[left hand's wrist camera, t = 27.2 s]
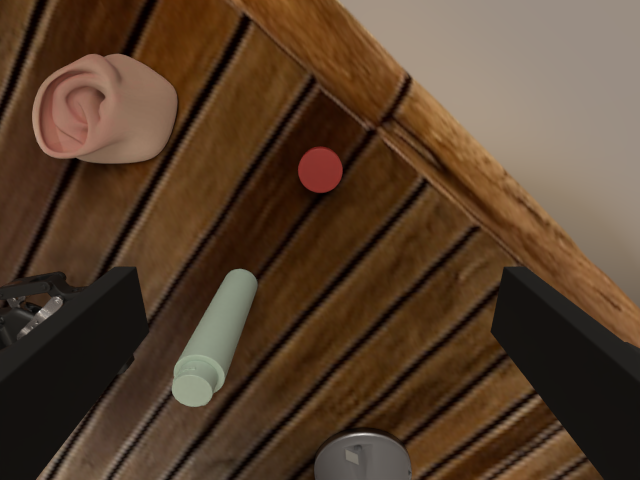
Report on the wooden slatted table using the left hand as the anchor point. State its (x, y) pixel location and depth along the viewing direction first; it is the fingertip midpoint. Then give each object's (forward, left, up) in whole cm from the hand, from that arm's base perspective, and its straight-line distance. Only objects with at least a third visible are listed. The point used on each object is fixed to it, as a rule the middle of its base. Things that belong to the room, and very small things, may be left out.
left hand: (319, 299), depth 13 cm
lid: (0, 0, -27) cm, 27 cm away
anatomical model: (-8, +22, -29) cm, 37 cm away
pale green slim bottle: (-18, 0, -29) cm, 34 cm away
